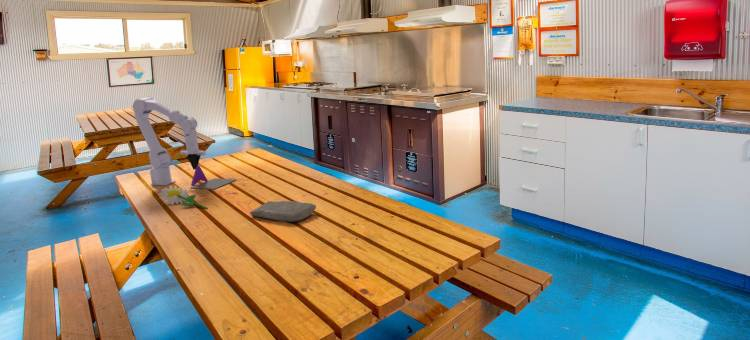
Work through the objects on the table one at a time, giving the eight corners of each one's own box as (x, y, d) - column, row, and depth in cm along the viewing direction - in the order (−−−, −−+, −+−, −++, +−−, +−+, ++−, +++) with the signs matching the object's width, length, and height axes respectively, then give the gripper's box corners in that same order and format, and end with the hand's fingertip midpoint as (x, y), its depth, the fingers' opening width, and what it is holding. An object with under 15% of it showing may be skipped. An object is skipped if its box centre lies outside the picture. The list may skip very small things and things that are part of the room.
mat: (190, 188, 255) (190, 187, 255) (214, 179, 271) (214, 178, 271) (213, 189, 250) (213, 188, 250) (236, 180, 266) (236, 179, 266)
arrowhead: (201, 192, 265) (187, 182, 257) (199, 191, 266) (185, 181, 258) (212, 175, 268) (199, 165, 261) (210, 174, 269) (197, 164, 262)
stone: (318, 203, 204) (296, 214, 191) (319, 213, 205) (297, 226, 192) (266, 197, 216) (242, 208, 203) (267, 207, 217) (243, 219, 204)
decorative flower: (220, 209, 225) (180, 192, 242) (219, 199, 223) (179, 182, 241) (194, 219, 216) (154, 200, 233) (193, 209, 214) (153, 190, 231)
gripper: (174, 143, 259) (178, 170, 262) (197, 144, 253) (201, 171, 256) (184, 141, 265) (188, 167, 268) (207, 141, 259) (211, 168, 263)
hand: (195, 169), depth 263 cm, fingers closed
